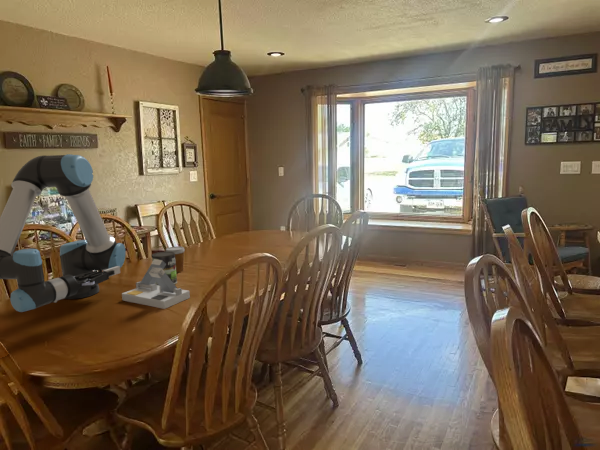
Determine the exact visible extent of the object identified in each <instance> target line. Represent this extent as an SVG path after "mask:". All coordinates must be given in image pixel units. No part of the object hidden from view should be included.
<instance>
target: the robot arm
mask: <svg viewBox="0 0 600 450" xmlns="http://www.w3.org/2000/svg"><path fill="white" fill-rule="evenodd" d="M93 171H94V170H93V166H92V165H91V163H90V162H89V161H88V160H87V158H86V157H84V156H82V155H80V154H69V153H68V154H67V153H66V154H56V155H53V154H51V155H38V156H35V157H33V158H31V159H30V160H28V162H26V163H25V164H23V166H22V167H21V168H19V170H18V171H17V173H16V174H15V176H14V178H13V179H12V182H11V185H10V186H11V188H12V190H11V192H10V195H9V196H8V199H7V202H6V204H5V206H4V209H3V210H2V213H1V215H0V280H16V282H17V283H16V284H17V289H15V290H12V292H11V293H10V299H9V300H10V304H11V306H12V308H13V309H14V310H15V311H16V312H19V313H23V312H27V311H31V310H36V309H37V308H40V307H43V306H46V305H49V304H51V303H57V302H58V301H60V300H64V299H66V300H75V299H82V298H87V297H90V296H94V295H97V294H98V293H99V292H100V285H99V284H101V283H103V282H105V281H108V280H110V277H112V276H115V275H119V274H121V268H122V267H123V265H124V263H125V260H126V248H125V247H126V246H125V244H124V243H121V242H117V241H116V239H115V237H114V236H113V235H111V234H109V232H108V230H107V228H106V225H105V223H104V220H103V218H102V216H101V214H100V212H99V210H98V207H97V205H96V202H95V200H94V198H93V196H92V193H91V191H90V189H91V186H92V182H93V180H94V175H93V173H94V172H93ZM46 188H56V190H57V192H58V194H59V195H60V197H65V199H66V200H67V203H68V204H69V206H70V209H71V210H72V214H73V215H74V217H75V220H76V221H77V224H78V226H79V228H80V230H81V233H82V234H83V236H84V238H85V239H79V240H75V241H71V242H67V243H64V244H62V245H60V246H59V257H60V263H61V272H62V276H59V277H55V278H52V279H49V280H46V281H45V274H44V268H43V260H42V257H41V252H40V250H39V249H37V248H23V249H19V250H15V249H16V246H17V244H18V241H19V240H20V237H21V235H22V232H23V229H24V227H25V225H26V223H27V221H28V220H27V219H28V217H29V216H30V213H31V210H32V208H33V206H34V203H35V200H36V198H37V197H39V196H42V195H41V194H42V192H43V191H44V190H45V189H46Z"/></svg>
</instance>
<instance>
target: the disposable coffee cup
mask: <svg viewBox="0 0 600 450" xmlns="http://www.w3.org/2000/svg"><path fill="white" fill-rule="evenodd" d="M168 251H169V252H175V262H176V274H177V273H182V272H183V271H184V261H185V259H184V257H185V247H183V246H177V245H176V246H170V247H167V248H165V250H164V252H168Z"/></svg>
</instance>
